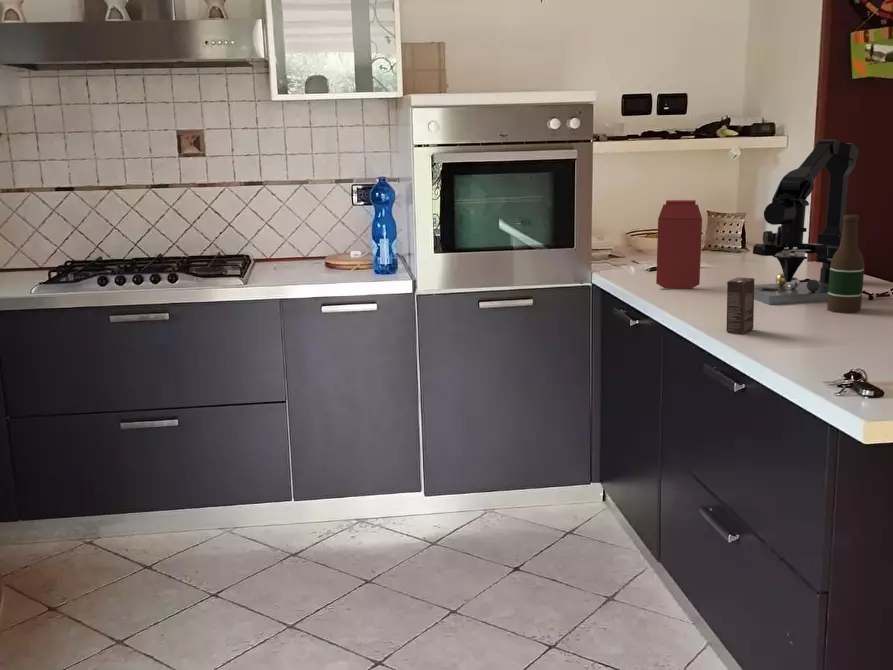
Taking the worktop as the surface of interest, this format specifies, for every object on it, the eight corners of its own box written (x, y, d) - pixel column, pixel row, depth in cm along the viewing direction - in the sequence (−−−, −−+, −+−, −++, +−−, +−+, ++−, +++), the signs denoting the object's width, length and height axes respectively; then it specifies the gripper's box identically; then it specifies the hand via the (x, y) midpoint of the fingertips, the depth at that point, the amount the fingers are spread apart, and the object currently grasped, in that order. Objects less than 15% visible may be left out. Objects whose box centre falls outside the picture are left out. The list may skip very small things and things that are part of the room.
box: (734, 327, 211) (737, 276, 209) (753, 329, 208) (756, 278, 206) (724, 332, 207) (726, 280, 204) (743, 334, 204) (746, 282, 201)
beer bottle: (845, 316, 220) (853, 217, 214) (819, 310, 227) (826, 215, 221) (867, 312, 223) (875, 215, 218) (841, 307, 230) (848, 213, 225)
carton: (699, 286, 264) (702, 200, 258) (699, 289, 259) (702, 201, 254) (656, 285, 267) (659, 200, 261) (656, 288, 262) (658, 201, 257)
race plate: (817, 290, 253) (818, 281, 253) (850, 300, 238) (851, 291, 237) (740, 294, 250) (741, 285, 249) (769, 305, 235) (769, 295, 234)
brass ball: (783, 283, 250) (784, 272, 250) (789, 285, 247) (790, 274, 246) (772, 284, 250) (773, 273, 249) (778, 286, 247) (779, 274, 246)
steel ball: (785, 276, 243) (783, 288, 244) (793, 278, 240) (792, 290, 241) (793, 276, 244) (792, 287, 245) (802, 277, 241) (801, 289, 242)
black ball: (815, 290, 240) (816, 278, 239) (821, 292, 237) (822, 280, 236) (804, 290, 240) (804, 278, 239) (810, 293, 237) (811, 280, 236)
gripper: (808, 221, 248) (803, 277, 251) (745, 221, 245) (740, 278, 248) (831, 224, 237) (826, 283, 240) (765, 224, 234) (760, 283, 237)
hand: (787, 281), depth 242 cm, fingers closed
